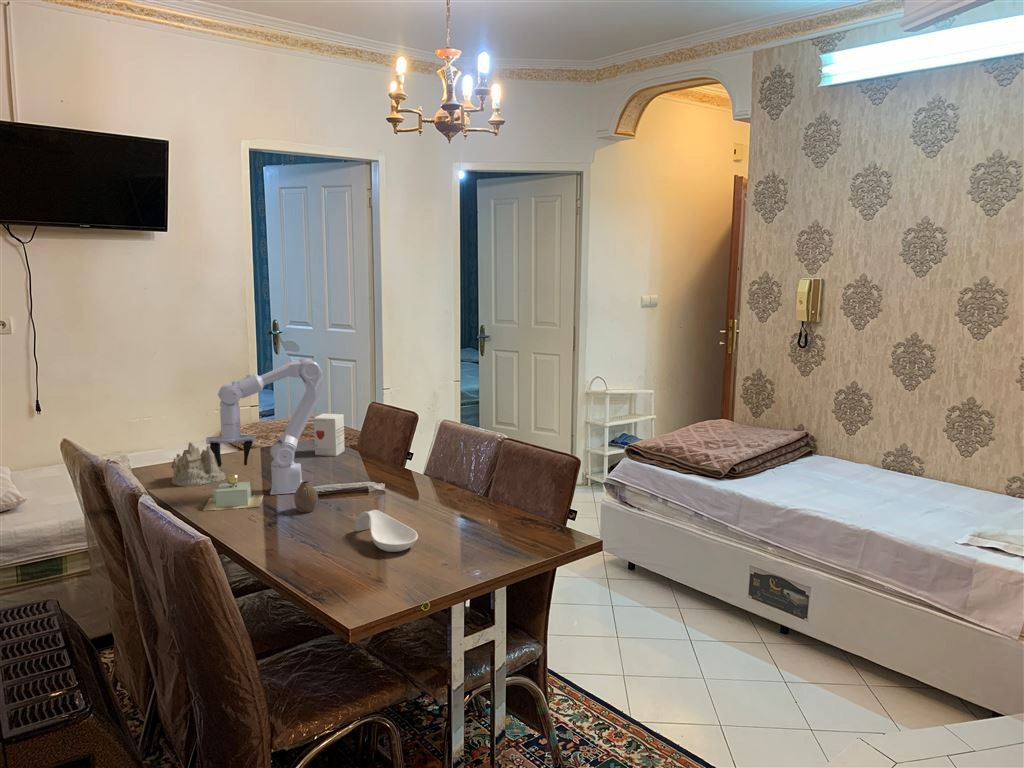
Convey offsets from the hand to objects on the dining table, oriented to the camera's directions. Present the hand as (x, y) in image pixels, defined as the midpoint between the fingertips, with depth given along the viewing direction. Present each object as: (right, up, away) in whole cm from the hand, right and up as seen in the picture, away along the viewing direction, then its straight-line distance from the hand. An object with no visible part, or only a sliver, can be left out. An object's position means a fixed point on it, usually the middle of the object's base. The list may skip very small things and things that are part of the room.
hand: (232, 465), depth 234 cm
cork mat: (+2, -11, -5) cm, 12 cm away
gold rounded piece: (+2, -10, -5) cm, 12 cm away
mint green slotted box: (+2, -11, -5) cm, 12 cm away
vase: (+26, -12, -11) cm, 31 cm away
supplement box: (+17, -2, +58) cm, 60 cm away
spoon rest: (+54, -17, -37) cm, 67 cm away
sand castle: (-20, -8, +21) cm, 30 cm away
